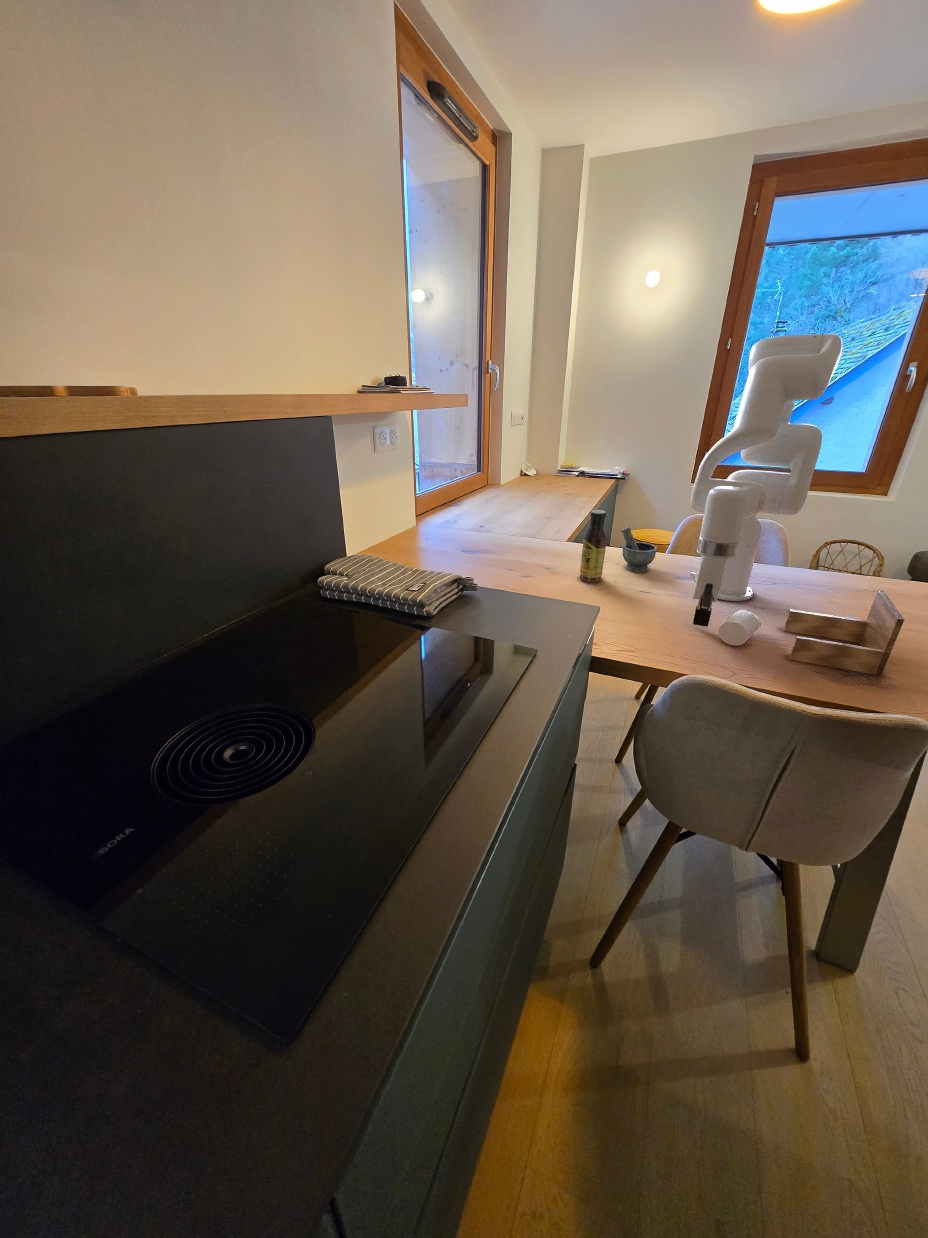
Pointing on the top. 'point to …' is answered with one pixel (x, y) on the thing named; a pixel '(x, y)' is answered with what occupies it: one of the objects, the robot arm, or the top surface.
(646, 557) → the mortar and pestle
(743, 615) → the roll
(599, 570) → the sauce bottle
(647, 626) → the top surface
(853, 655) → the u-shaped wooden enclosure
